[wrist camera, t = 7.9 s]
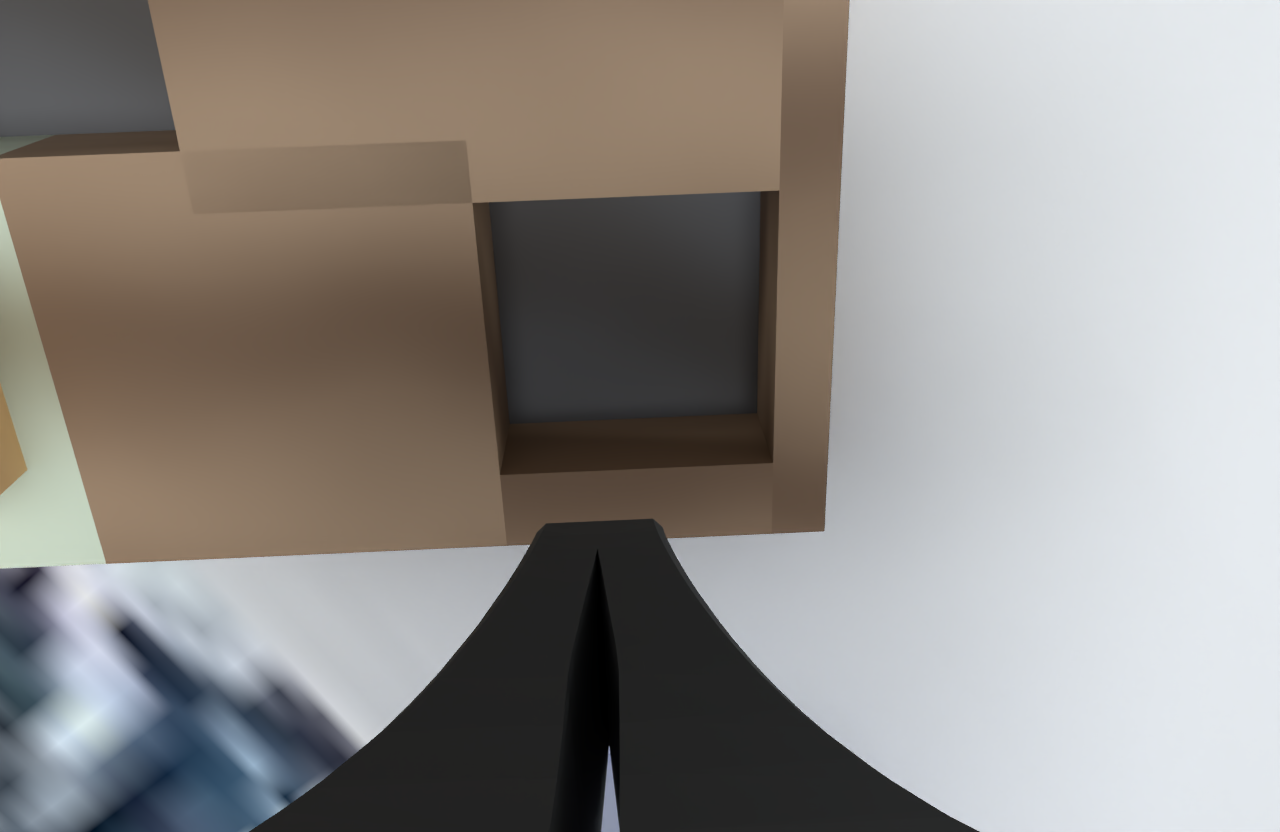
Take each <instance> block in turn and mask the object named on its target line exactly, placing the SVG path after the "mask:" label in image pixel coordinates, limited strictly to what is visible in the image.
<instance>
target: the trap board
mask: <svg viewBox="0 0 1280 832" xmlns="http://www.w3.org/2000/svg"><path fill="white" fill-rule="evenodd" d="M848 19H849V0H0V384H1V387H2V390H3V393H4V396H5V400H6V403H7V406H8V409H9V412H10V416H11V419H12V422H13V425H14V428H15V432H16V435H17V438H18V441H19V444H20V447H21V451H22V454H23V457H24V460H25V463H26V467H27V471H26V472H25V473H24V474H22V475H21V476H20V477H19V478H18V479H17V480H16V481H15V482H14V483H13V484H12V485H11V486H10V487H8V488H7V489H6V490H5V491H4V492H3V493H2V494H1V495H0V568H22V567H44V566H66V565H89V564H111V563H133V562H155V561H177V560H199V559H221V558H243V557H265V556H287V555H310V554H332V553H354V552H376V551H398V550H420V549H442V548H464V547H486V546H509V545H531V543H532V541H533V539H534V537H535V535H536V533H537V532H538V531H539V530H540V529H541V528H542V527H543V526H544V525H545V524H546V523H565V522H588V521H610V520H632V519H654V520H655V521H656V522H657V523H659V524H660V525H661V526H662V527H663V529H664V533H665V535H666V537H667V538H685V537H707V536H730V535H752V534H774V533H796V532H818V531H824V528H825V507H826V485H827V464H828V443H829V422H830V401H831V379H832V358H833V337H834V316H835V295H836V273H837V252H838V231H839V210H840V189H841V167H842V146H843V125H844V104H845V83H846V62H847V40H848Z"/></svg>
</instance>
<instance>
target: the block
mask: <svg viewBox="0 0 1280 832" xmlns="http://www.w3.org/2000/svg"><path fill="white" fill-rule="evenodd" d="M26 471H27V467H26V463H25V460H24V457H23V454H22V451H21V447H20V444H19V441H18V438H17V435H16V432H15V428H14V425H13V422H12V419H11V416H10V412H9V409H8V406H7V403H6V400H5V396H4V393H3V390H2V387H1V384H0V495H1V494H2V493H3V492H4V491H5V490H6V489H7V488H8V487H10V486H11V485H12V484H13V483H14V482H15V481H16V480H17V479H18V478H19V477H20V476H21V475H22V474H24V473H25V472H26Z"/></svg>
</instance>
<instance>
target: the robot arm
mask: <svg viewBox="0 0 1280 832" xmlns="http://www.w3.org/2000/svg"><path fill="white" fill-rule="evenodd" d="M249 832H979V831H977V830H975V829H973V828H971V827H969V826H967V825H965V824H963V823H961V822H960V821H958V820H956V819H954V818H952V817H950V816H948V815H946V814H945V813H943V812H941V811H939V810H938V809H936V808H935V807H933V806H931V805H930V804H928V803H926V802H925V801H923V800H922V799H920V798H918V797H917V796H915V795H914V794H912V793H910V792H909V791H907V790H906V789H904V788H902V787H901V786H899V785H898V784H896V783H894V782H893V781H891V780H890V779H888V778H887V777H885V776H884V775H882V774H881V773H879V772H878V771H877V770H875V769H874V768H872V767H871V766H870V765H868V764H867V763H866V762H864V761H863V760H862V759H860V758H859V757H858V756H856V755H855V754H854V753H852V752H851V751H850V750H848V749H847V748H846V747H844V746H843V745H842V744H840V743H839V742H838V741H836V740H835V739H834V738H832V737H831V736H830V735H828V734H827V733H826V732H825V731H824V730H822V729H821V728H820V727H819V726H818V725H817V724H815V723H814V722H813V721H812V720H811V719H810V718H809V717H807V716H806V715H805V714H804V713H803V712H802V711H801V710H800V709H799V708H798V707H796V706H795V705H794V704H793V703H792V702H791V701H790V700H789V699H788V698H787V697H786V696H785V695H784V694H783V693H782V692H781V691H780V690H779V689H778V688H777V687H776V686H775V685H774V684H773V683H772V682H771V681H770V680H769V679H768V678H767V677H766V676H765V675H764V674H763V673H762V672H761V671H760V669H759V668H758V667H757V666H756V665H755V664H754V663H753V662H752V661H751V659H750V658H749V657H748V656H747V655H746V654H745V652H744V651H743V650H742V649H741V648H740V647H739V645H738V644H737V643H736V642H735V641H734V640H733V638H732V637H731V636H730V635H729V633H728V632H727V631H726V630H725V628H724V627H723V626H722V624H721V623H720V622H719V621H718V619H717V618H716V616H715V615H714V614H713V612H712V611H711V610H710V608H709V607H708V605H707V604H706V603H705V601H704V600H703V598H702V597H701V596H700V594H699V593H698V591H697V590H696V588H695V587H694V585H693V584H692V582H691V581H690V579H689V578H688V576H687V574H686V573H685V571H684V569H683V568H682V566H681V564H680V563H679V561H678V559H677V558H676V556H675V554H674V552H673V550H672V548H671V546H670V544H669V542H668V540H667V537H666V535H665V533H664V529H663V527H662V526H661V525H660V524H659V523H657V522H656V521H655V520H654V519H632V520H610V521H588V522H565V523H546V524H545V525H544V526H543V527H542V528H541V529H540V530H539V531H538V532H537V533H536V535H535V537H534V539H533V541H532V543H531V545H530V547H529V548H528V550H527V552H526V554H525V555H524V557H523V559H522V561H521V562H520V564H519V565H518V567H517V569H516V570H515V572H514V573H513V575H512V577H511V578H510V580H509V581H508V583H507V584H506V586H505V587H504V589H503V590H502V592H501V593H500V595H499V596H498V597H497V599H496V600H495V602H494V603H493V604H492V606H491V607H490V609H489V610H488V612H487V613H486V614H485V616H484V617H483V619H482V620H481V621H480V623H479V624H478V625H477V627H476V628H475V629H474V631H473V632H472V633H471V634H470V636H469V637H468V638H467V639H466V641H465V642H464V643H463V644H462V645H461V647H460V648H459V649H458V650H457V652H456V653H455V654H454V655H453V656H452V658H451V659H450V660H449V661H448V662H447V664H446V665H445V666H444V667H443V669H442V670H441V671H440V672H439V673H438V674H437V676H436V677H435V678H434V679H433V680H432V681H431V682H430V683H429V684H428V685H427V686H426V688H425V689H424V690H423V691H422V692H421V693H420V694H419V695H418V696H417V697H416V698H415V699H414V700H413V701H412V702H411V703H410V704H409V705H408V706H407V707H406V708H405V709H404V710H403V711H402V712H401V713H400V714H399V715H398V716H397V717H396V718H395V719H394V720H393V721H392V722H391V723H390V724H389V725H388V726H387V727H386V728H385V729H384V730H383V731H382V732H381V733H379V734H378V735H377V736H376V737H375V738H374V739H373V740H371V741H370V742H369V743H368V744H367V745H365V746H364V747H363V748H362V749H360V750H359V751H358V752H357V753H356V754H354V755H353V756H352V757H351V758H349V759H348V760H347V761H346V762H345V763H343V764H342V765H341V766H340V767H339V768H337V769H336V770H335V771H334V772H332V773H331V774H330V775H329V776H328V777H326V778H325V779H324V780H323V781H321V782H320V783H319V784H317V785H316V786H315V787H313V788H312V789H311V790H309V791H308V792H306V793H305V794H304V795H302V796H301V797H299V798H298V799H297V800H295V801H294V802H292V803H291V804H290V805H288V806H287V807H285V808H284V809H283V810H281V811H280V812H278V813H277V814H275V815H274V816H272V817H271V818H269V819H268V820H266V821H265V822H263V823H262V824H260V825H259V826H257V827H255V828H254V829H252V830H251V831H249Z"/></svg>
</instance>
